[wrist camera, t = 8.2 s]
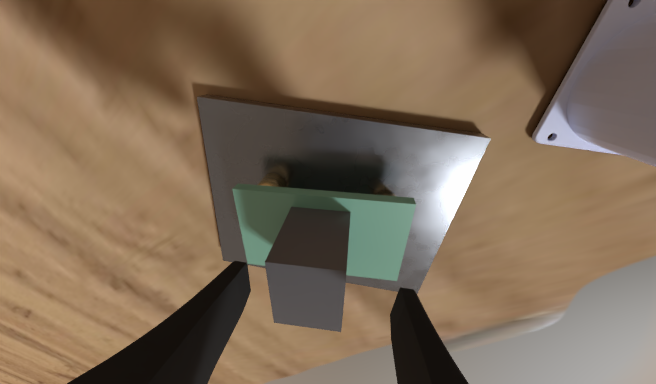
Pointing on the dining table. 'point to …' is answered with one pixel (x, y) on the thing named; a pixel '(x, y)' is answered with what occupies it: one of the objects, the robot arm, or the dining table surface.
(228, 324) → the robot arm
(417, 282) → the plate
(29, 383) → the dining table surface
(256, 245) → the board
